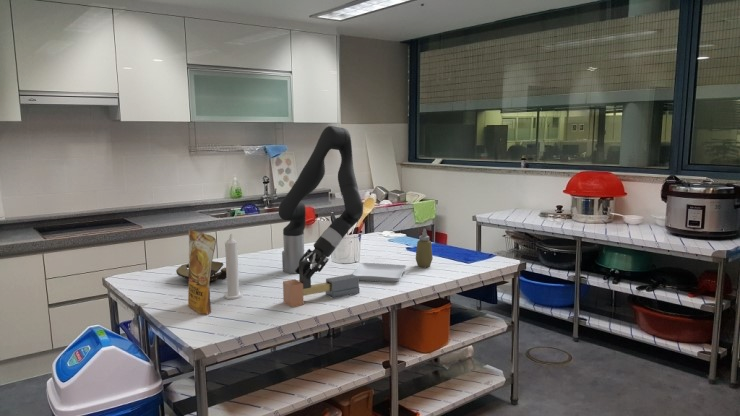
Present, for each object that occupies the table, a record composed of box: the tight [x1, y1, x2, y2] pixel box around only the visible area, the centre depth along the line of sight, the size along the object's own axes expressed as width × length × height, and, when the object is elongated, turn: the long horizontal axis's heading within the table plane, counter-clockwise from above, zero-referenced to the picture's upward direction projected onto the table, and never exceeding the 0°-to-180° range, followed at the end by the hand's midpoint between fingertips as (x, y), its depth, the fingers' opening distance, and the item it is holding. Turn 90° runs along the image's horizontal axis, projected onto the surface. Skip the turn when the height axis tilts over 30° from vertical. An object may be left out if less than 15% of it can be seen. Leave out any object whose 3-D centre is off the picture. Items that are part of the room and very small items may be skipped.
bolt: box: [298, 260, 331, 297], centre depth 202 cm, size 20×3×13 cm, turn 122°
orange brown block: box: [282, 278, 305, 308], centre depth 198 cm, size 5×7×8 cm
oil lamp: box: [175, 260, 227, 282], centre depth 228 cm, size 22×30×8 cm
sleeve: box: [325, 273, 361, 299], centre depth 209 cm, size 12×6×6 cm, turn 122°
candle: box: [223, 233, 244, 300], centre depth 205 cm, size 7×7×25 cm
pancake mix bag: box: [187, 229, 217, 315], centre depth 191 cm, size 7×19×28 cm, turn 39°
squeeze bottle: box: [415, 228, 433, 268], centre depth 249 cm, size 8×8×18 cm
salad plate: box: [352, 262, 407, 283], centre depth 234 cm, size 21×21×3 cm
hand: (301, 275), depth 199 cm, fingers open, 8 cm apart
